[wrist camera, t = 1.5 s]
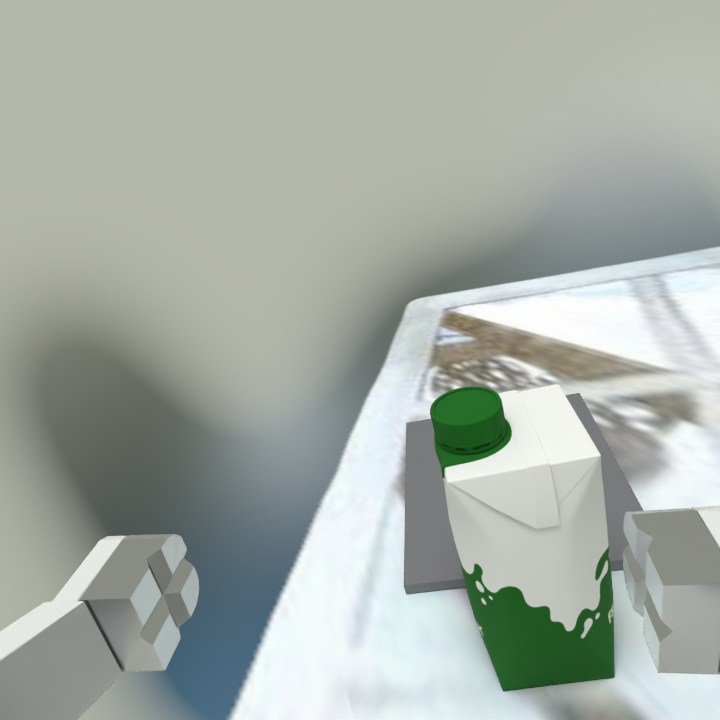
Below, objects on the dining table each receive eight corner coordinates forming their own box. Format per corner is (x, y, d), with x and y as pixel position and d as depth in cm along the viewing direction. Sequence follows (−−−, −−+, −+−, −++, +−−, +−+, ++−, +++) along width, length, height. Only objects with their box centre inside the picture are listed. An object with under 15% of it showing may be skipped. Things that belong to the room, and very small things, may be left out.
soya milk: (472, 595, 43) (418, 376, 35) (590, 577, 42) (563, 346, 34) (491, 707, 35) (428, 459, 27) (638, 690, 34) (619, 423, 26)
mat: (580, 400, 62) (579, 392, 62) (667, 564, 41) (667, 554, 41) (408, 429, 66) (406, 422, 66) (406, 594, 45) (403, 585, 44)
